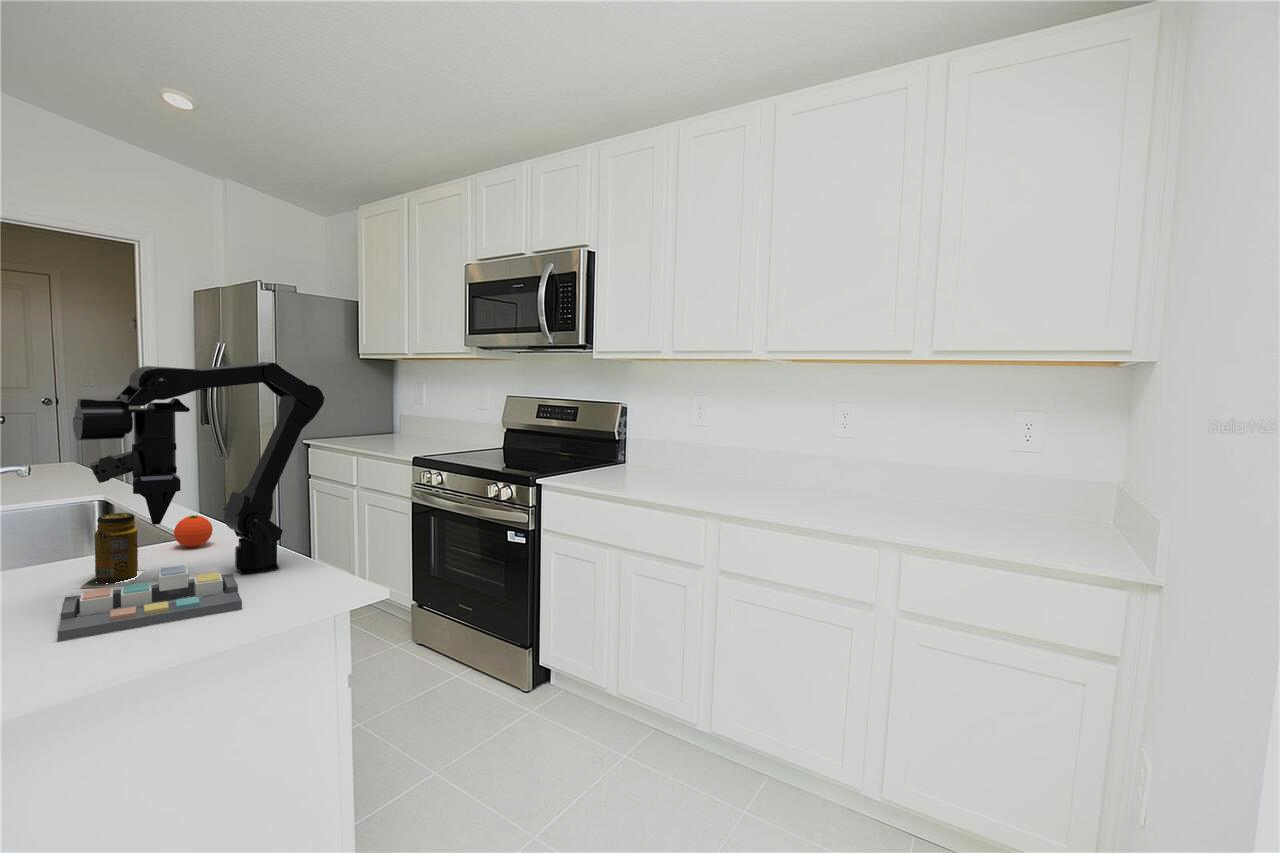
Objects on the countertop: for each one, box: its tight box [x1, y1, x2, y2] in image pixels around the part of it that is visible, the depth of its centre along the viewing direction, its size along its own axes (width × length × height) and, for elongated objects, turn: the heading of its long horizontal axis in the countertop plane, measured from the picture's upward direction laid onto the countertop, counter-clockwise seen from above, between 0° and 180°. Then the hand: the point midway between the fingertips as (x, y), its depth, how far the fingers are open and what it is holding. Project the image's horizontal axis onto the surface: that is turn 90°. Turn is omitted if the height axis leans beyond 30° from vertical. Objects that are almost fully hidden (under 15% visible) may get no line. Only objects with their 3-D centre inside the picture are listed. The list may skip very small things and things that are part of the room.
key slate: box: [157, 564, 189, 595], centre depth 101 cm, size 4×4×4 cm
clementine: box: [173, 514, 214, 548], centre depth 133 cm, size 8×7×7 cm
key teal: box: [120, 581, 153, 609], centre depth 98 cm, size 4×4×4 cm
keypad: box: [57, 572, 243, 642], centre depth 99 cm, size 22×13×2 cm, turn 130°
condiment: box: [80, 512, 146, 588], centre depth 111 cm, size 7×8×12 cm
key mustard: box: [193, 572, 224, 598], centre depth 105 cm, size 4×4×4 cm
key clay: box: [79, 586, 114, 617], centre depth 95 cm, size 4×4×4 cm
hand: (156, 524), depth 107 cm, fingers closed
